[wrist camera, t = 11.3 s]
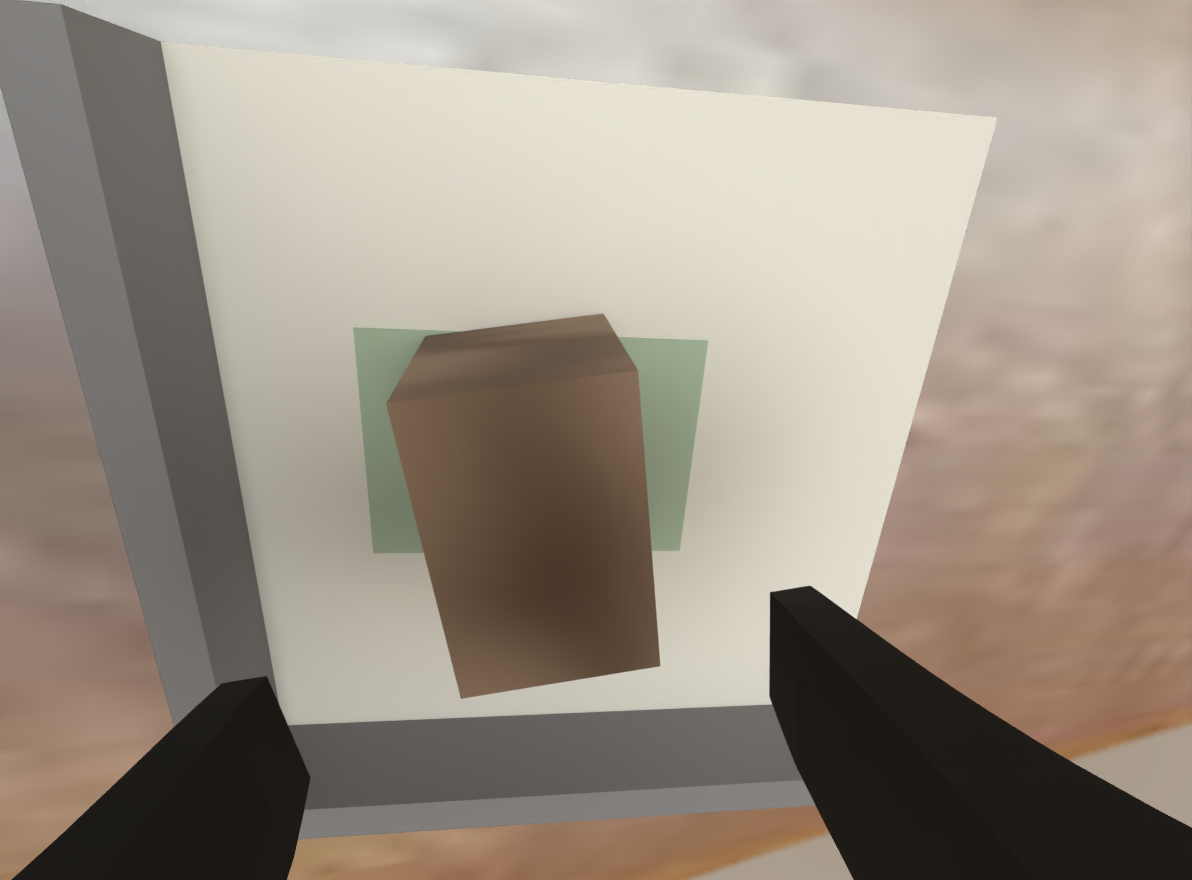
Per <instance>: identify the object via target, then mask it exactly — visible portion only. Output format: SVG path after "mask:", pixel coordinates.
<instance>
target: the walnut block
mask: <svg viewBox="0 0 1192 880" xmlns="http://www.w3.org/2000/svg"><path fill="white" fill-rule="evenodd" d="M386 406H387V410H388V414H389V417H390V421H391V425H392V429H393V433H394V437H395V441H396V445H397V449H398V453H399V457H400V461H401V465H402V469H403V473H404V477H405V481H406V485H407V488H408V492H409V496H410V500H411V504H412V508H413V512H414V516H415V520H416V524H417V528H418V532H419V536H420V540H421V544H422V548H423V552H424V556H425V559H426V563H427V567H428V571H429V575H430V579H431V583H432V587H433V591H434V595H435V599H436V603H437V607H438V611H439V615H440V619H441V623H442V627H443V630H444V634H445V638H446V642H447V646H448V650H449V654H450V658H451V662H452V666H453V670H454V674H455V678H456V682H457V686H458V690H459V694H460V698H461V699H463V698H469V697H475V696H481V695H488V694H494V693H500V692H506V691H512V690H518V689H524V688H530V687H537V686H543V685H549V684H555V683H561V682H567V681H573V680H579V679H586V678H592V677H598V676H604V675H610V674H616V673H622V672H629V671H635V670H641V669H647V668H653V667H659V666H660V653H659V640H658V627H657V614H656V600H655V587H654V574H653V560H652V547H651V534H650V521H649V507H648V494H647V481H646V468H645V454H644V441H643V428H642V415H641V401H640V388H639V375H638V369H637V368H636V366H635V364H634V363H633V361H632V359H631V358H630V356H629V354H628V353H627V351H626V350H625V348H624V346H623V345H622V343H621V341H620V340H619V338H618V336H617V335H616V333H615V332H614V330H613V328H612V327H611V325H610V323H609V322H608V320H607V318H606V317H605V315H604V314H597V315H589V316H581V317H573V318H565V319H557V320H549V321H541V322H533V323H525V324H517V325H509V326H501V327H493V328H485V329H477V330H469V331H461V332H453V333H445V334H437V335H429V336H425V338H424V340H423V341H422V343H421V345H420V346H419V348H418V350H417V351H416V353H415V355H414V357H413V358H412V360H411V362H410V363H409V365H408V367H407V368H406V370H405V372H404V374H403V375H402V377H401V379H400V380H399V382H398V384H397V385H396V387H395V389H394V391H393V392H392V394H391V396H390V397H389V399H388V401H387V402H386Z"/></svg>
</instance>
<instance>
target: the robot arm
mask: <svg viewBox="0 0 1192 880" xmlns="http://www.w3.org/2000/svg"><path fill="white" fill-rule="evenodd" d="M769 697H770V700H771V702H772V705H773V708H774V711H775V713H776V716H777V719H778V721H779V724H780V727H781V729H782V732H783V735H784V737H785V740H786V742H787V745H788V747H789V750H790V753H791V755H792V758H793V760H794V763H795V765H796V767H797V769H798V771H799V773H800V775H801V777H802V779H803V781H804V783H805V785H806V787H807V789H808V791H809V793H810V795H811V797H812V799H813V801H814V803H815V805H816V807H817V809H818V811H819V813H820V815H821V817H822V819H823V821H824V823H825V825H826V827H827V829H828V831H829V832H830V834H831V836H832V838H833V840H834V842H835V844H836V846H837V848H838V850H839V852H840V854H841V855H842V858H843V860H844V861H845V864H846V865H847V867H848V869H849V871H850V873H851V875H852V877H853V879H854V880H1192V828H1191V827H1189V826H1187V825H1185V824H1183V823H1182V822H1180V821H1178V820H1176V819H1174V818H1172V817H1170V816H1168V815H1166V814H1165V813H1163V812H1161V811H1159V810H1157V809H1155V808H1153V807H1151V806H1150V805H1148V804H1146V803H1144V802H1142V801H1141V800H1139V799H1137V798H1135V797H1133V796H1132V795H1130V794H1128V793H1126V792H1124V791H1122V790H1121V789H1119V788H1117V787H1115V786H1114V785H1112V784H1110V783H1108V782H1106V781H1105V780H1103V779H1101V778H1099V777H1097V776H1096V775H1094V774H1092V773H1090V772H1088V771H1087V770H1085V769H1083V768H1081V767H1080V766H1078V765H1076V764H1074V763H1073V762H1071V761H1069V760H1068V759H1066V758H1064V757H1062V756H1061V755H1059V754H1057V753H1056V752H1054V751H1052V750H1051V749H1049V748H1047V747H1046V746H1044V745H1042V744H1041V743H1039V742H1037V741H1036V740H1034V739H1032V738H1031V737H1029V736H1028V735H1026V734H1025V733H1023V732H1021V731H1020V730H1018V729H1017V728H1015V727H1013V726H1012V725H1010V724H1009V723H1007V722H1005V721H1004V720H1002V719H1001V718H999V717H997V716H996V715H994V714H993V713H991V712H989V711H988V710H986V709H985V708H983V707H982V706H980V705H979V704H977V703H976V702H974V701H973V700H971V699H969V698H968V697H966V696H965V695H963V694H962V693H960V692H959V691H957V690H956V689H954V688H953V687H951V686H950V685H948V684H947V683H945V682H944V681H943V680H941V679H940V678H938V677H937V676H935V675H934V674H932V673H931V672H929V671H928V670H927V669H925V668H924V667H922V666H921V665H919V664H918V663H916V662H915V661H914V660H912V659H911V658H909V657H908V656H907V655H905V654H904V653H902V652H901V651H900V650H898V649H897V648H895V647H894V646H893V645H891V644H890V643H888V642H887V641H886V640H884V639H883V638H882V637H880V636H879V635H877V634H876V633H875V632H873V631H872V630H871V629H869V628H868V627H866V626H865V625H864V624H862V623H861V622H860V621H858V620H857V619H856V618H854V617H853V616H851V615H850V614H849V613H847V612H846V611H845V610H843V609H842V608H841V607H839V606H838V605H837V604H835V603H834V602H833V601H831V600H830V599H828V598H827V597H826V596H824V595H823V594H822V593H820V592H819V591H817V590H816V589H815V588H813V587H812V586H804V587H798V588H792V589H786V590H780V591H774V592H770V666H769ZM310 778H311V777H310V775H309V773H308V770H307V768H306V766H305V763H304V761H303V759H302V756H301V754H300V752H299V749H298V747H297V745H296V743H295V740H294V738H293V736H292V733H291V731H290V729H289V726H288V724H287V722H286V719H285V717H284V715H283V712H282V710H281V708H280V705H279V703H278V701H277V698H276V696H275V694H274V691H273V689H272V687H271V685H270V682H269V680H268V678H267V676H263V677H257V678H251V679H245V680H238V681H232V682H226V683H222V684H221V685H219V686H218V687H217V688H216V689H215V690H214V691H213V692H211V693H210V694H209V695H208V696H207V697H206V698H205V699H204V700H202V701H201V702H200V703H199V704H198V705H197V706H196V707H195V708H194V709H193V710H192V711H191V712H190V713H188V714H187V715H186V716H185V717H184V718H183V719H182V720H181V721H180V722H179V723H178V724H177V725H176V726H175V727H174V728H173V729H172V730H171V731H169V732H168V733H167V734H166V735H165V736H164V737H163V738H162V739H161V740H160V741H159V742H158V743H157V744H156V745H155V746H154V747H153V748H152V749H151V750H150V751H149V752H148V753H147V754H146V755H145V756H143V757H142V758H141V759H140V760H139V761H138V762H137V763H136V764H135V765H134V766H133V767H132V768H131V769H130V770H129V771H128V772H127V773H126V774H125V775H124V776H123V777H122V778H121V779H119V780H118V781H117V782H116V783H115V784H114V785H113V786H112V787H111V788H110V789H109V790H108V791H107V792H106V793H105V794H104V795H103V796H102V797H101V798H99V799H98V800H97V801H96V802H95V803H94V804H93V805H92V806H91V807H90V808H89V809H88V810H87V811H86V812H85V813H84V814H83V815H82V816H81V817H79V818H78V819H77V820H76V821H75V822H74V823H73V824H72V825H71V826H70V827H69V828H68V829H67V830H66V831H65V832H64V833H63V834H62V835H60V836H59V837H58V838H57V839H56V840H55V841H54V842H53V843H52V844H51V845H49V846H48V847H47V848H46V849H45V850H44V851H43V852H42V853H41V854H40V855H38V856H37V857H36V858H35V859H34V860H33V861H32V862H31V863H30V864H28V865H27V866H26V867H25V868H24V869H23V870H22V871H21V872H20V873H18V874H17V875H16V876H15V877H14V878H13V879H12V880H287V877H288V874H289V871H290V868H291V865H292V862H293V858H294V854H295V850H296V845H297V841H298V837H299V832H300V828H301V824H302V819H303V814H304V809H305V804H306V799H307V794H308V789H309V783H310Z"/></svg>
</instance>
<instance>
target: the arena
mask: <svg viewBox="0 0 1192 880" xmlns="http://www.w3.org/2000/svg"><path fill="white" fill-rule="evenodd" d="M0 86H1V90H2V94H3V97H4V101H5V105H6V109H7V112H8V116H9V120H10V123H11V127H12V131H13V134H14V138H15V142H16V145H17V149H18V153H19V156H20V160H21V164H22V168H23V171H24V175H25V179H26V182H27V186H28V190H29V193H30V197H31V201H32V204H33V208H34V212H35V216H36V219H37V223H38V227H39V230H40V234H41V238H42V241H43V245H44V249H45V252H46V256H47V260H48V263H49V267H50V271H51V275H52V278H53V282H54V286H55V289H56V293H57V297H58V300H59V304H60V308H61V311H62V315H63V319H64V322H65V326H66V330H67V334H68V337H69V341H70V345H71V348H72V352H73V356H74V359H75V363H76V367H77V370H78V374H79V378H80V382H81V385H82V389H83V393H84V396H85V400H86V404H87V407H88V411H89V415H90V418H91V422H92V426H93V429H94V433H95V437H96V441H97V444H98V448H99V452H100V455H101V459H102V463H103V466H104V470H105V474H106V477H107V481H108V485H109V488H110V492H111V496H112V500H113V503H114V507H115V511H116V514H117V518H118V522H119V525H120V529H121V533H122V536H123V540H124V544H125V548H126V551H127V555H128V559H129V562H130V566H131V570H132V573H133V577H134V581H135V584H136V588H137V592H138V595H139V599H140V603H141V607H142V610H143V614H144V618H145V621H146V625H147V629H148V632H149V636H150V640H151V643H152V647H153V651H154V654H155V658H156V662H157V666H158V669H159V673H160V677H161V680H162V684H163V688H164V691H165V695H166V699H167V702H168V706H169V710H170V714H171V717H172V721H173V725H174V727H175V726H176V725H177V724H178V723H179V722H180V721H181V720H182V719H183V718H184V717H185V716H186V715H187V714H188V713H190V712H191V711H192V710H193V709H194V708H195V707H196V706H197V705H198V704H199V703H200V702H201V701H202V700H204V699H205V698H206V697H207V696H208V695H209V694H210V693H211V692H213V691H214V690H215V689H216V688H217V687H218V686H219V685H221V684H222V683H226V682H232V681H238V680H245V679H251V678H257V677H263V676H267V678H268V680H269V682H270V685H271V687H272V689H273V691H274V694H275V696H276V698H277V701H278V703H279V705H280V708H281V710H282V712H283V715H284V717H285V719H286V722H287V724H288V726H289V729H290V731H291V733H292V736H293V738H294V740H295V743H296V745H297V747H298V749H299V752H300V754H301V756H302V759H303V761H304V763H305V766H306V768H307V770H308V773H309V775H310V777H311V778H310V783H309V789H308V794H307V799H306V804H305V809H304V814H303V819H302V824H301V828H300V832H299V837H298V839H311V838H326V837H342V836H357V835H372V834H387V833H403V832H418V831H433V830H448V829H463V828H479V827H494V826H509V825H524V824H540V823H555V822H570V821H585V820H600V819H616V818H631V817H646V816H661V815H677V814H692V813H707V812H722V811H737V810H753V809H768V808H783V807H798V806H814V805H815V803H814V801H813V799H812V797H811V795H810V793H809V791H808V789H807V787H806V785H805V783H804V781H803V779H802V777H801V775H800V773H799V771H798V769H797V767H796V765H795V763H794V760H793V758H792V755H791V753H790V750H789V747H788V745H787V742H786V740H785V737H784V735H783V732H782V729H781V727H780V724H779V721H778V719H777V716H776V713H775V711H774V708H773V705H772V702H771V700H770V697H769V666H770V592H774V591H780V590H786V589H792V588H798V587H804V586H812V587H813V588H815V589H816V590H817V591H819V592H820V593H822V594H823V595H824V596H826V597H827V598H828V599H830V600H831V601H833V602H834V603H835V604H837V605H838V606H839V607H841V608H842V609H843V610H845V611H846V612H847V613H849V614H850V615H851V616H853V617H854V618H856V619H857V615H858V612H859V608H860V605H861V601H862V598H863V594H864V590H865V587H866V583H867V580H868V576H869V573H870V569H871V566H872V562H873V558H874V555H875V551H876V548H877V544H878V541H879V537H880V534H881V530H882V526H883V523H884V519H885V516H886V512H887V509H888V505H889V502H890V498H891V494H892V491H893V487H894V484H895V480H896V477H897V473H898V470H899V466H900V462H901V459H902V455H903V452H904V448H905V445H906V441H907V438H908V434H909V430H910V427H911V423H912V420H913V416H914V413H915V409H916V406H917V402H918V398H919V395H920V391H921V388H922V384H923V381H924V377H925V374H926V370H927V367H928V363H929V359H930V356H931V352H932V349H933V345H934V342H935V338H936V335H937V331H938V327H939V324H940V320H941V317H942V313H943V310H944V306H945V303H946V299H947V295H948V292H949V288H950V285H951V281H952V278H953V274H954V271H955V267H956V263H957V260H958V256H959V253H960V249H961V246H962V242H963V239H964V235H965V231H966V228H967V224H968V221H969V217H970V214H971V210H972V207H973V203H974V199H975V196H976V192H977V189H978V185H979V182H980V178H981V175H982V171H983V167H984V164H985V160H986V157H987V153H988V150H989V146H990V143H991V139H992V135H993V132H994V128H995V125H996V121H997V118H996V117H985V116H974V115H963V114H952V113H941V112H930V111H919V110H908V109H897V108H886V107H875V106H864V105H853V104H842V103H831V102H820V101H809V100H798V99H787V98H776V97H765V96H753V95H742V94H731V93H720V92H709V91H698V90H687V89H676V88H665V87H654V86H643V85H632V84H621V83H610V82H599V81H588V80H577V79H566V78H555V77H544V76H533V75H522V74H511V73H500V72H489V71H478V70H467V69H456V68H445V67H434V66H423V65H412V64H401V63H390V62H379V61H368V60H357V59H346V58H335V57H324V56H313V55H302V54H291V53H280V52H269V51H258V50H246V49H235V48H224V47H213V46H202V45H191V44H180V43H169V42H160V41H157V40H155V39H152V38H149V37H147V36H144V35H141V34H139V33H136V32H133V31H131V30H128V29H125V28H123V27H120V26H117V25H115V24H112V23H109V22H107V21H104V20H101V19H99V18H96V17H93V16H91V15H88V14H85V13H83V12H80V11H77V10H75V9H72V8H69V7H67V6H64V5H61V4H53V3H43V2H33V1H22V0H0ZM597 314H604V315H605V317H606V318H607V320H608V322H609V323H610V325H611V327H612V328H613V330H614V332H615V333H616V335H617V336H618V338H619V340H620V341H621V343H622V345H623V346H624V348H625V350H626V351H627V353H628V354H629V356H630V358H631V359H632V361H633V363H634V364H635V366H636V368H637V369H638V375H639V388H640V401H641V415H642V428H643V441H644V454H645V468H646V481H647V494H648V507H649V521H650V534H651V547H652V560H653V574H654V587H655V600H656V614H657V627H658V640H659V653H660V666H659V667H653V668H647V669H641V670H635V671H629V672H622V673H616V674H610V675H604V676H598V677H592V678H586V679H579V680H573V681H567V682H561V683H555V684H549V685H543V686H537V687H530V688H524V689H518V690H512V691H506V692H500V693H494V694H488V695H481V696H475V697H469V698H463V699H461V698H460V694H459V690H458V686H457V682H456V678H455V674H454V670H453V666H452V662H451V658H450V654H449V650H448V646H447V642H446V638H445V634H444V630H443V627H442V623H441V619H440V615H439V611H438V607H437V603H436V599H435V595H434V591H433V587H432V583H431V579H430V575H429V571H428V567H427V563H426V559H425V556H424V552H423V548H422V544H421V540H420V536H419V532H418V528H417V524H416V520H415V516H414V512H413V508H412V504H411V500H410V496H409V492H408V488H407V485H406V481H405V477H404V473H403V469H402V465H401V461H400V457H399V453H398V449H397V445H396V441H395V437H394V433H393V429H392V425H391V421H390V417H389V414H388V410H387V406H386V402H387V401H388V399H389V397H390V396H391V394H392V392H393V391H394V389H395V387H396V385H397V384H398V382H399V380H400V379H401V377H402V375H403V374H404V372H405V370H406V368H407V367H408V365H409V363H410V362H411V360H412V358H413V357H414V355H415V353H416V351H417V350H418V348H419V346H420V345H421V343H422V341H423V340H424V338H425V336H429V335H437V334H445V333H453V332H461V331H469V330H477V329H485V328H493V327H501V326H509V325H517V324H525V323H533V322H541V321H549V320H557V319H565V318H573V317H581V316H589V315H597Z"/></svg>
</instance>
